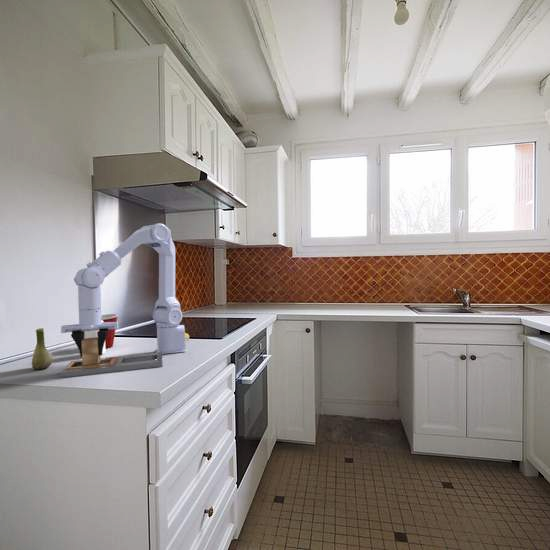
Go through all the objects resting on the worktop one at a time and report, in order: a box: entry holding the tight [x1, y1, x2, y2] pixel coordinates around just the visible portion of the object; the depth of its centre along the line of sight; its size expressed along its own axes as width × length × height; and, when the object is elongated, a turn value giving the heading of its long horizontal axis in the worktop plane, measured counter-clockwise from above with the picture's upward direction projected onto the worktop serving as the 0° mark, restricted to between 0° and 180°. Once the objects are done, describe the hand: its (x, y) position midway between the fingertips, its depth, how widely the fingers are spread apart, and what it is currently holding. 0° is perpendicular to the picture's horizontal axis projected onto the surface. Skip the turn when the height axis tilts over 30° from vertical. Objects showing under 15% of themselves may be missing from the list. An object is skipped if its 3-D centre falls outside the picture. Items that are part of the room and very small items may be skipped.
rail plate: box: [59, 352, 164, 379], centre depth 100 cm, size 26×12×2 cm, turn 109°
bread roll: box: [185, 332, 190, 342], centre depth 135 cm, size 8×9×4 cm
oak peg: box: [81, 337, 102, 365], centre depth 97 cm, size 4×4×7 cm
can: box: [84, 319, 107, 356], centre depth 115 cm, size 6×6×12 cm
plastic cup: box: [101, 313, 119, 349], centre depth 125 cm, size 11×11×12 cm
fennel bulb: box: [31, 327, 53, 371], centre depth 100 cm, size 6×5×12 cm
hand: (91, 355), depth 98 cm, fingers closed on oak peg, 4 cm apart
